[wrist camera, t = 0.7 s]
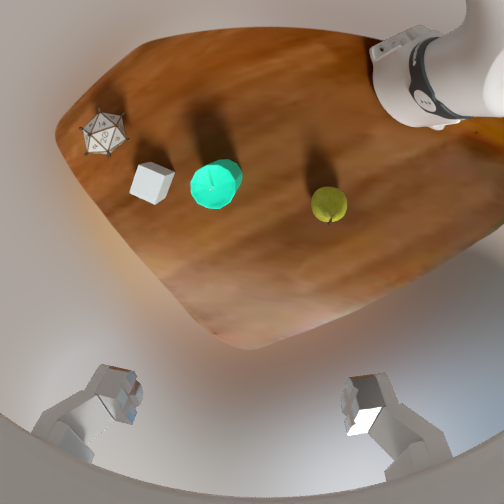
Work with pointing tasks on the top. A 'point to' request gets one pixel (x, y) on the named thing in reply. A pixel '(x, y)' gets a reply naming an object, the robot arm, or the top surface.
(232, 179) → the candle
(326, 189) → the fruit
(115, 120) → the game die
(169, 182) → the grey block
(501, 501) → the robot arm
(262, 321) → the top surface
